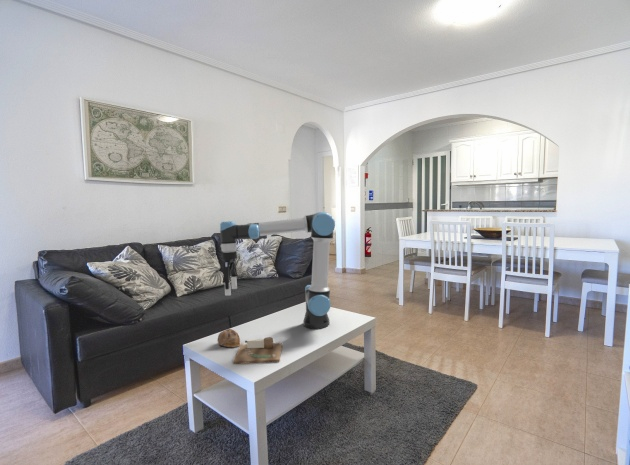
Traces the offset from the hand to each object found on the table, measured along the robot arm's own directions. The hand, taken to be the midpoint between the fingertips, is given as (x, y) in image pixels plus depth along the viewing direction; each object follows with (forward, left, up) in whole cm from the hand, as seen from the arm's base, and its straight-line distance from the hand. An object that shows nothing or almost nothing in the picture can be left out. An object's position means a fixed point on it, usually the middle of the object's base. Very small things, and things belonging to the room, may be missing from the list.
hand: (231, 292), depth 171 cm
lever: (-16, +16, -23) cm, 33 cm away
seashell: (+1, +8, -25) cm, 26 cm away
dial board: (-16, +20, -25) cm, 36 cm away
